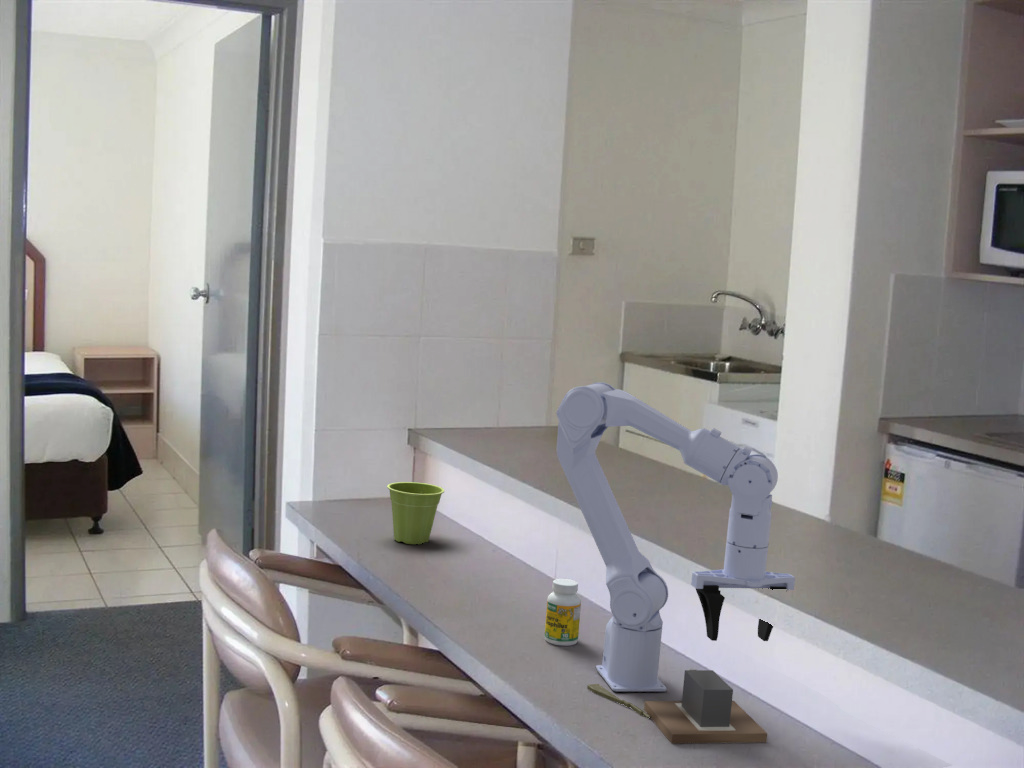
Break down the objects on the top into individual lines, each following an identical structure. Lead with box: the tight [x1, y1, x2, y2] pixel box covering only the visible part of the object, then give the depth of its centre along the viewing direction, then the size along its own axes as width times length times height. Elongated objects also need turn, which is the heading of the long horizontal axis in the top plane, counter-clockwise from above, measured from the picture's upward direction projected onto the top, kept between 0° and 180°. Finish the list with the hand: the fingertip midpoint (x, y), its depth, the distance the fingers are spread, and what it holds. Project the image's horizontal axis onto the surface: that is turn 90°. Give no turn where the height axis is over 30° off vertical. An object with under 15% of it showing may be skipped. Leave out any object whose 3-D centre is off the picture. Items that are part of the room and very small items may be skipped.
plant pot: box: [386, 481, 445, 545], centre depth 240 cm, size 12×12×11 cm
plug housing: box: [681, 669, 734, 727], centre depth 154 cm, size 9×4×5 cm, turn 12°
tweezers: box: [586, 683, 651, 719], centre depth 160 cm, size 12×2×1 cm, turn 35°
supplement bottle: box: [544, 578, 582, 647], centre depth 183 cm, size 5×5×10 cm
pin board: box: [643, 700, 768, 744], centre depth 154 cm, size 11×13×4 cm
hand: (737, 638), depth 162 cm, fingers open, 7 cm apart
